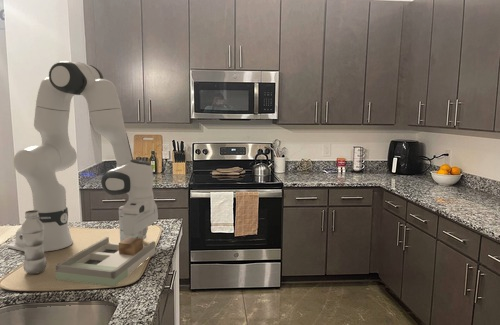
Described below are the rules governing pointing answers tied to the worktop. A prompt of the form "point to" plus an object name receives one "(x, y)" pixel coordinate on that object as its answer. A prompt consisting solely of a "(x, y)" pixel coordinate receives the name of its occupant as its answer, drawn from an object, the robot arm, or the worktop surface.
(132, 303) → the worktop surface
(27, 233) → the plastic bottle
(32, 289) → the worktop surface
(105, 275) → the box
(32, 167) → the robot arm
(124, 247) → the walnut block
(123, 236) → the syrup box
